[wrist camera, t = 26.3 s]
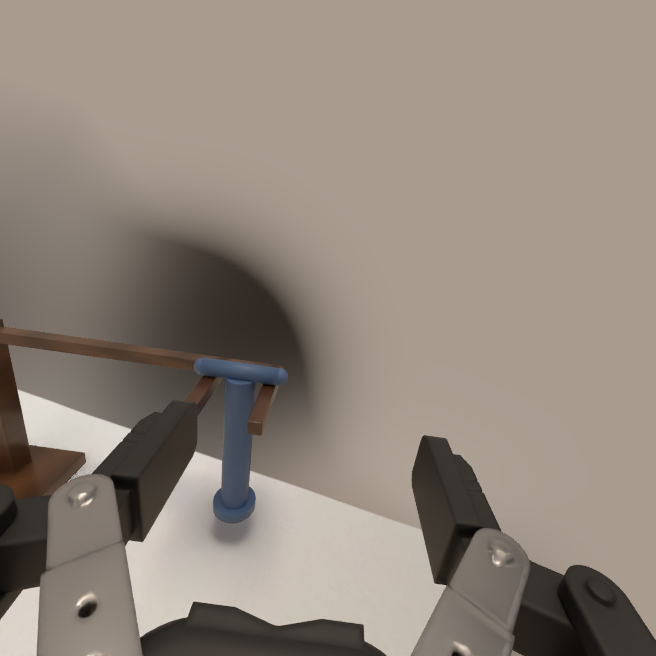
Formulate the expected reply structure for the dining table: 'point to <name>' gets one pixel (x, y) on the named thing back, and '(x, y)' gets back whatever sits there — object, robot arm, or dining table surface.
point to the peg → (237, 431)
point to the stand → (60, 465)
